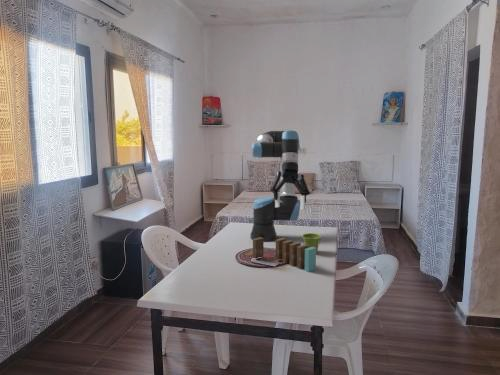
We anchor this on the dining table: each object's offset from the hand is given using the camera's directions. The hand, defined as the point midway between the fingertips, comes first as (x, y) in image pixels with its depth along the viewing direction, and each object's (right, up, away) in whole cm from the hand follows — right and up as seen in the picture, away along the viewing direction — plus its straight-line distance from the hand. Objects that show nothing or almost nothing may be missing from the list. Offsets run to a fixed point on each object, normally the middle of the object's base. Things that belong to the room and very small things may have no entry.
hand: (290, 208), depth 171 cm
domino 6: (+9, -27, -3) cm, 29 cm away
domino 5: (+6, -27, +1) cm, 27 cm away
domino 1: (-14, -25, +12) cm, 31 cm away
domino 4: (+3, -26, +4) cm, 27 cm away
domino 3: (0, -26, +8) cm, 27 cm away
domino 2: (-3, -25, +11) cm, 28 cm away
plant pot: (+13, -24, +21) cm, 34 cm away
